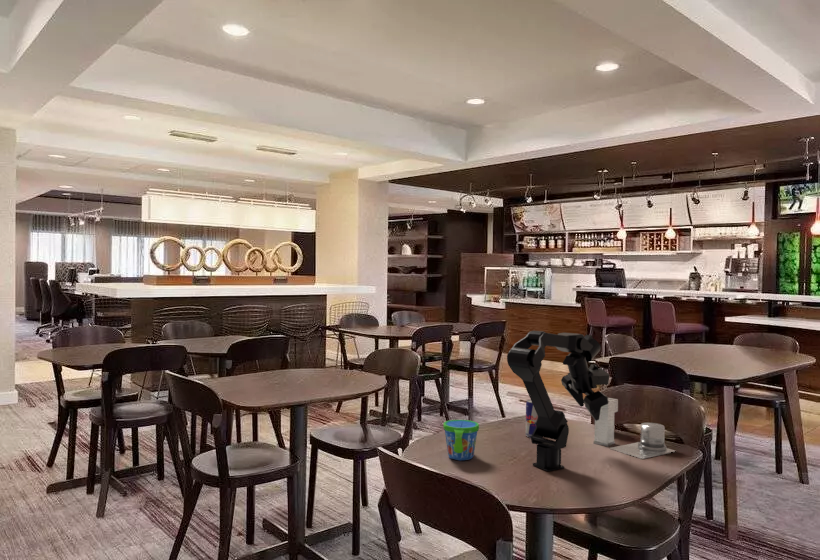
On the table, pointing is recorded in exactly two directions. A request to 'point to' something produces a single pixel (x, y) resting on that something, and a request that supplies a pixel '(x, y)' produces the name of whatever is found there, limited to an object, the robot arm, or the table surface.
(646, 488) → the table surface
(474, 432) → the snack cup
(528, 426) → the energy drink
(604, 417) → the duct elbow
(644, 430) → the duct flange
